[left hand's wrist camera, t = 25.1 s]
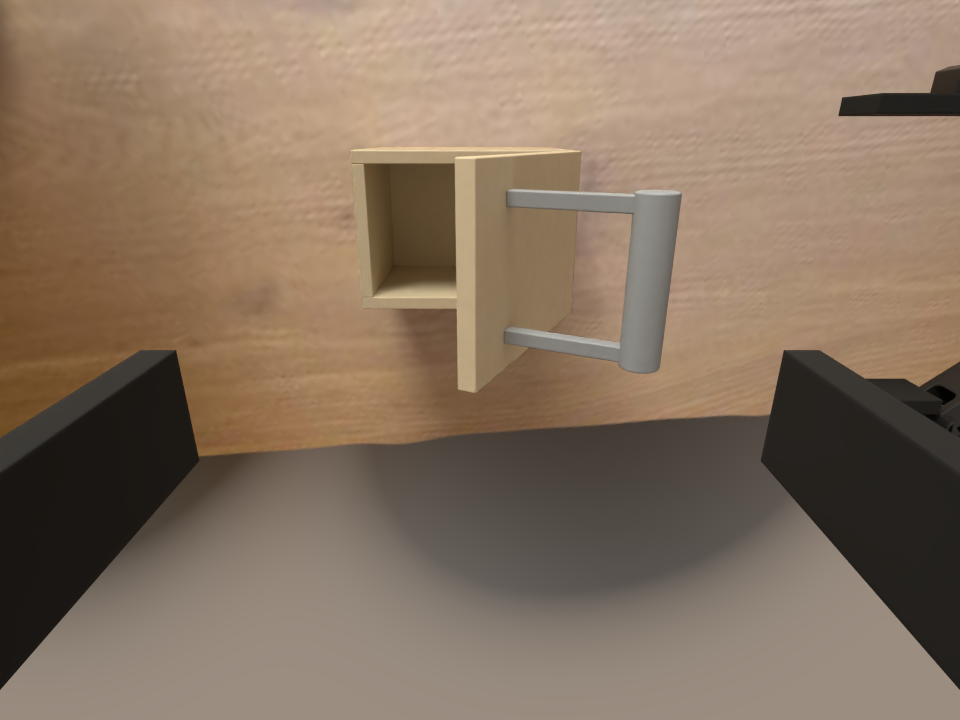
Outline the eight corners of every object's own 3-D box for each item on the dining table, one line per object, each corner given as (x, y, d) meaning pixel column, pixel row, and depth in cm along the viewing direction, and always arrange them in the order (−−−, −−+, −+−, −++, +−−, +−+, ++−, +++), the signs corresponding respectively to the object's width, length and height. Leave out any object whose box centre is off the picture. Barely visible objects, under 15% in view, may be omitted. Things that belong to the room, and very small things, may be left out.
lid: (457, 390, 25) (640, 428, 22) (453, 157, 21) (672, 160, 18) (557, 310, 36) (687, 327, 33) (566, 150, 33) (712, 152, 29)
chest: (387, 273, 46) (361, 308, 37) (379, 147, 43) (349, 150, 33) (546, 273, 46) (563, 309, 37) (551, 147, 43) (572, 150, 33)
